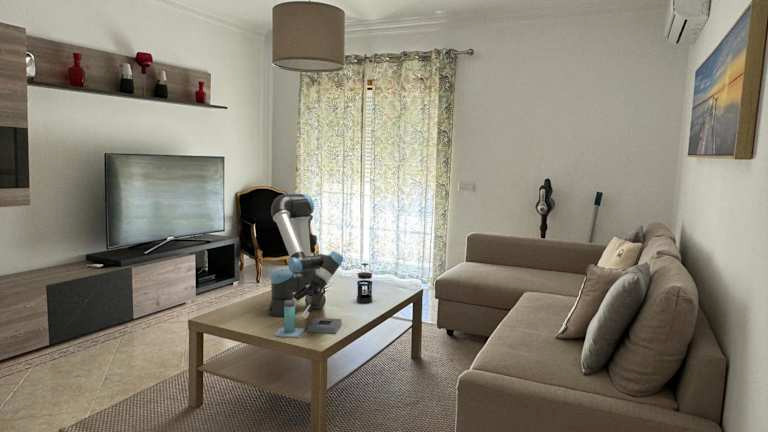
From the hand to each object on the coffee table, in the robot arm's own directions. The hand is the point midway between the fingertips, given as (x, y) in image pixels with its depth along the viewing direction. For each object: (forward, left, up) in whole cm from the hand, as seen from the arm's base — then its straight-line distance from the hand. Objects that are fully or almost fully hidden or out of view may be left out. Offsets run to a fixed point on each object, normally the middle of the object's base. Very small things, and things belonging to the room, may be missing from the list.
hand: (295, 314), depth 259 cm
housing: (+12, +8, -9) cm, 17 cm away
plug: (-2, -2, -8) cm, 9 cm away
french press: (+23, +59, -9) cm, 64 cm away
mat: (-2, -2, -9) cm, 10 cm away
